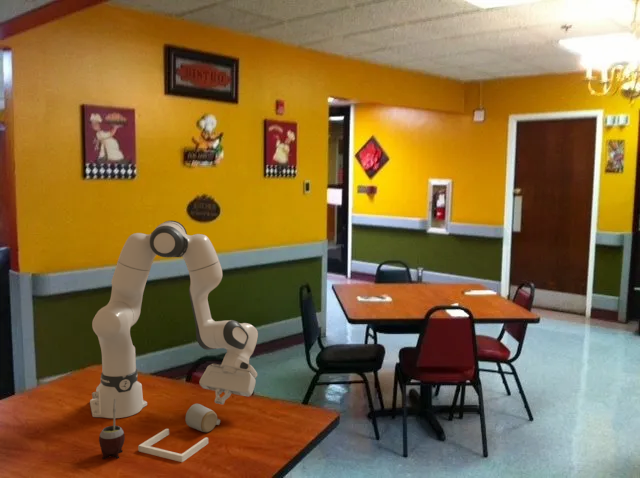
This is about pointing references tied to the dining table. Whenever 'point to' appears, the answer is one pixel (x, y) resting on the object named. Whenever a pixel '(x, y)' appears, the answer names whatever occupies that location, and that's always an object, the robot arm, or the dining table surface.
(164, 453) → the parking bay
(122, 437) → the mate gourd
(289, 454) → the dining table surface
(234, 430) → the dining table surface
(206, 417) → the ceramic mug
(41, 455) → the dining table surface
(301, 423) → the dining table surface
